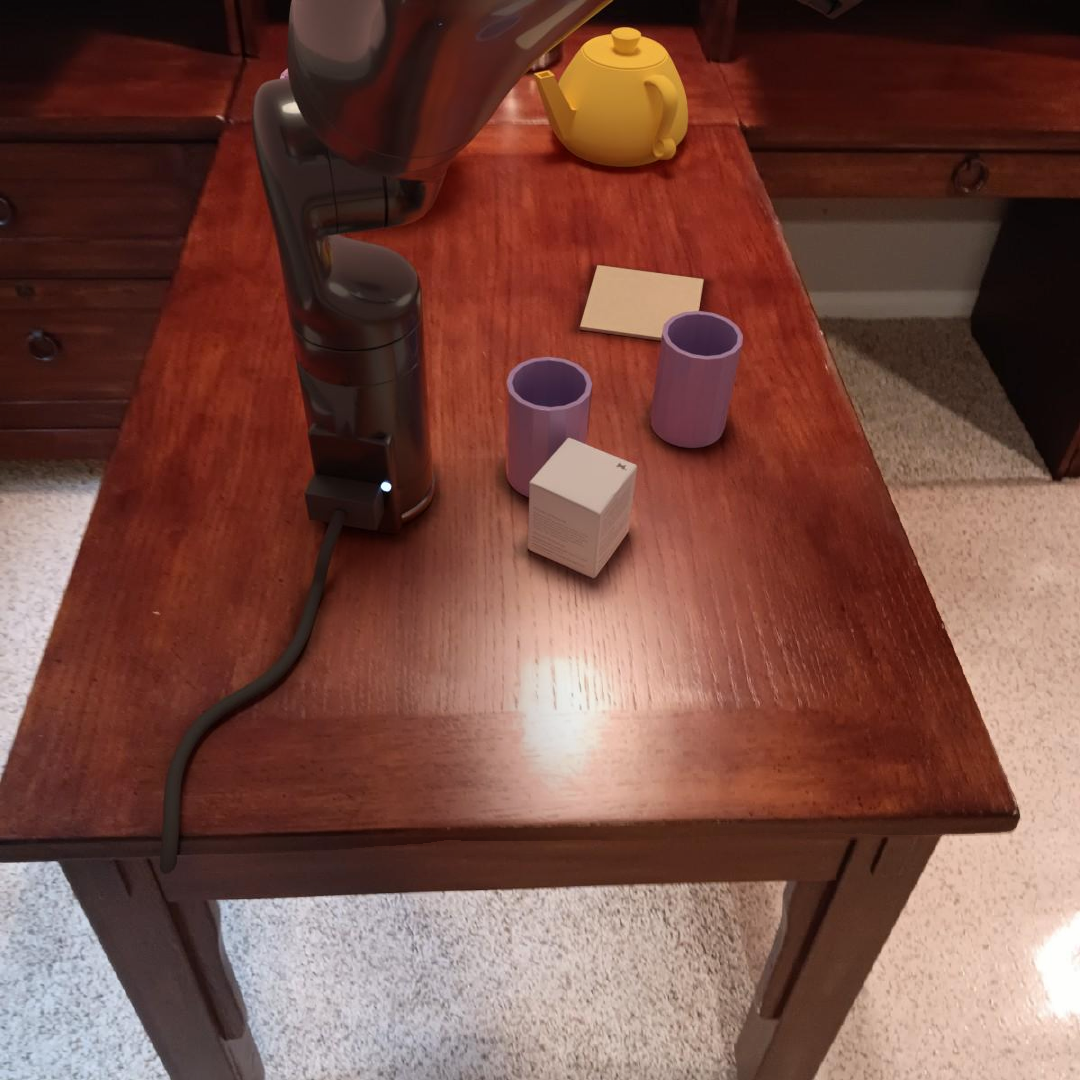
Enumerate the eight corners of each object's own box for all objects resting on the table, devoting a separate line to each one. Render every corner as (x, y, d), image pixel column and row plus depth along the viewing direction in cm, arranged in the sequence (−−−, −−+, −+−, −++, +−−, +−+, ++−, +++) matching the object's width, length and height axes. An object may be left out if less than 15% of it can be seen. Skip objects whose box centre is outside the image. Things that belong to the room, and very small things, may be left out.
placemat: (693, 345, 100) (694, 342, 100) (579, 329, 101) (579, 326, 101) (703, 282, 108) (703, 278, 107) (597, 268, 109) (597, 264, 109)
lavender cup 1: (577, 506, 85) (584, 415, 78) (498, 493, 86) (498, 403, 79) (589, 453, 89) (597, 363, 82) (515, 441, 90) (516, 351, 83)
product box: (564, 502, 85) (568, 434, 80) (631, 531, 83) (640, 463, 78) (525, 549, 82) (527, 481, 76) (593, 581, 80) (600, 513, 74)
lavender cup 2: (721, 453, 90) (740, 364, 83) (645, 442, 91) (658, 352, 84) (726, 405, 94) (745, 317, 87) (654, 395, 95) (667, 306, 88)
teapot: (634, 99, 136) (644, -6, 127) (723, 161, 125) (742, 52, 116) (499, 132, 129) (500, 23, 119) (582, 202, 118) (590, 88, 109)
